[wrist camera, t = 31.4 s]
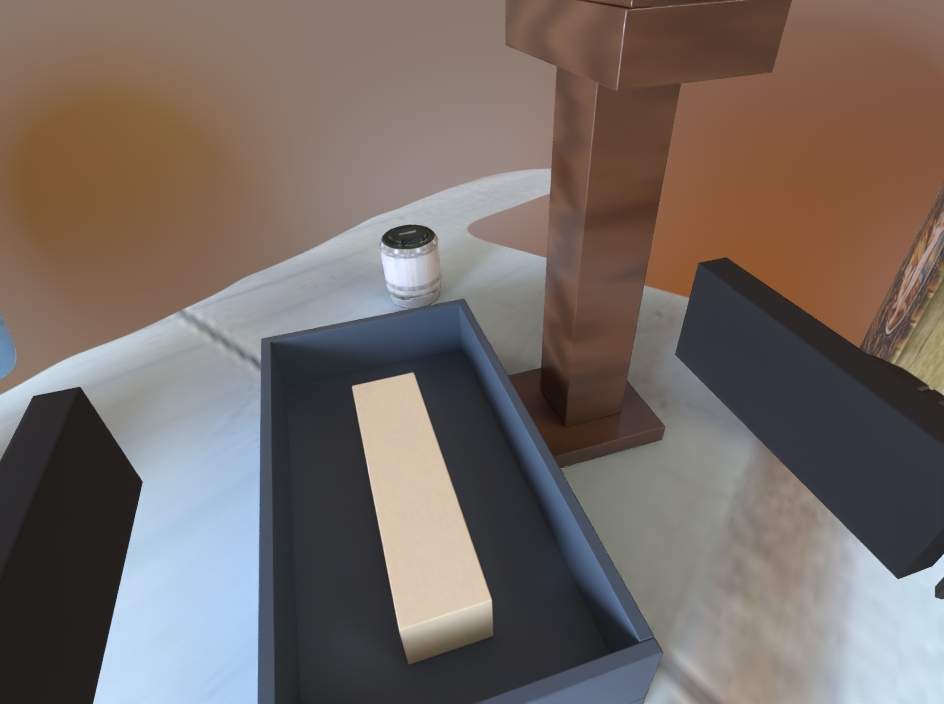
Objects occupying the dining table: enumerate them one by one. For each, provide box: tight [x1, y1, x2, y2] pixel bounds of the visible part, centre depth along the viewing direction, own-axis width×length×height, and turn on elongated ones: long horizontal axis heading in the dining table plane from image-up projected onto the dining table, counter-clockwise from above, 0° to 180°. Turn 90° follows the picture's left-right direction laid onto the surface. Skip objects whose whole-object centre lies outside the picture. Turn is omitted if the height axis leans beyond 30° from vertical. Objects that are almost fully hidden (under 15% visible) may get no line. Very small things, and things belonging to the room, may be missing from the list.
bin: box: [258, 299, 663, 704], centre depth 36 cm, size 32×18×7 cm, turn 17°
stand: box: [506, 0, 792, 468], centre depth 36 cm, size 14×10×31 cm
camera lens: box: [380, 225, 441, 308], centre depth 59 cm, size 6×6×8 cm
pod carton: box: [352, 373, 493, 664], centre depth 35 cm, size 19×5×4 cm, turn 17°
